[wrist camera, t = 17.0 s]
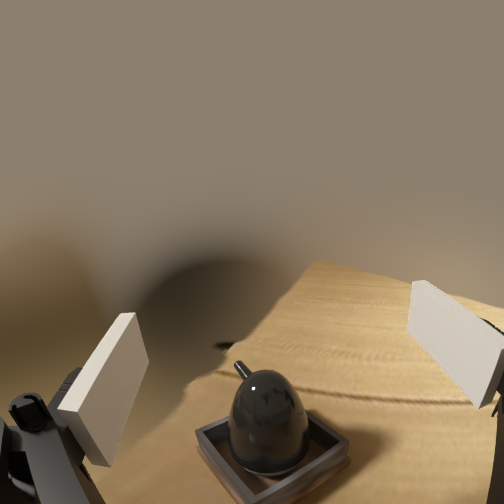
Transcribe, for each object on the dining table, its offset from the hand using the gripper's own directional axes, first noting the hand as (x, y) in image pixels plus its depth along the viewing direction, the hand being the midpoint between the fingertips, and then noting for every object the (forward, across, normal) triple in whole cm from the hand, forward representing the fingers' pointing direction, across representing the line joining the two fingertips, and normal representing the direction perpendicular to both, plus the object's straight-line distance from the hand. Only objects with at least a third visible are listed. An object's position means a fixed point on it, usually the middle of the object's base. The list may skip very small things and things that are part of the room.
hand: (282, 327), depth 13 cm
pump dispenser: (+14, -1, -29) cm, 32 cm away
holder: (+14, -1, -30) cm, 33 cm away
